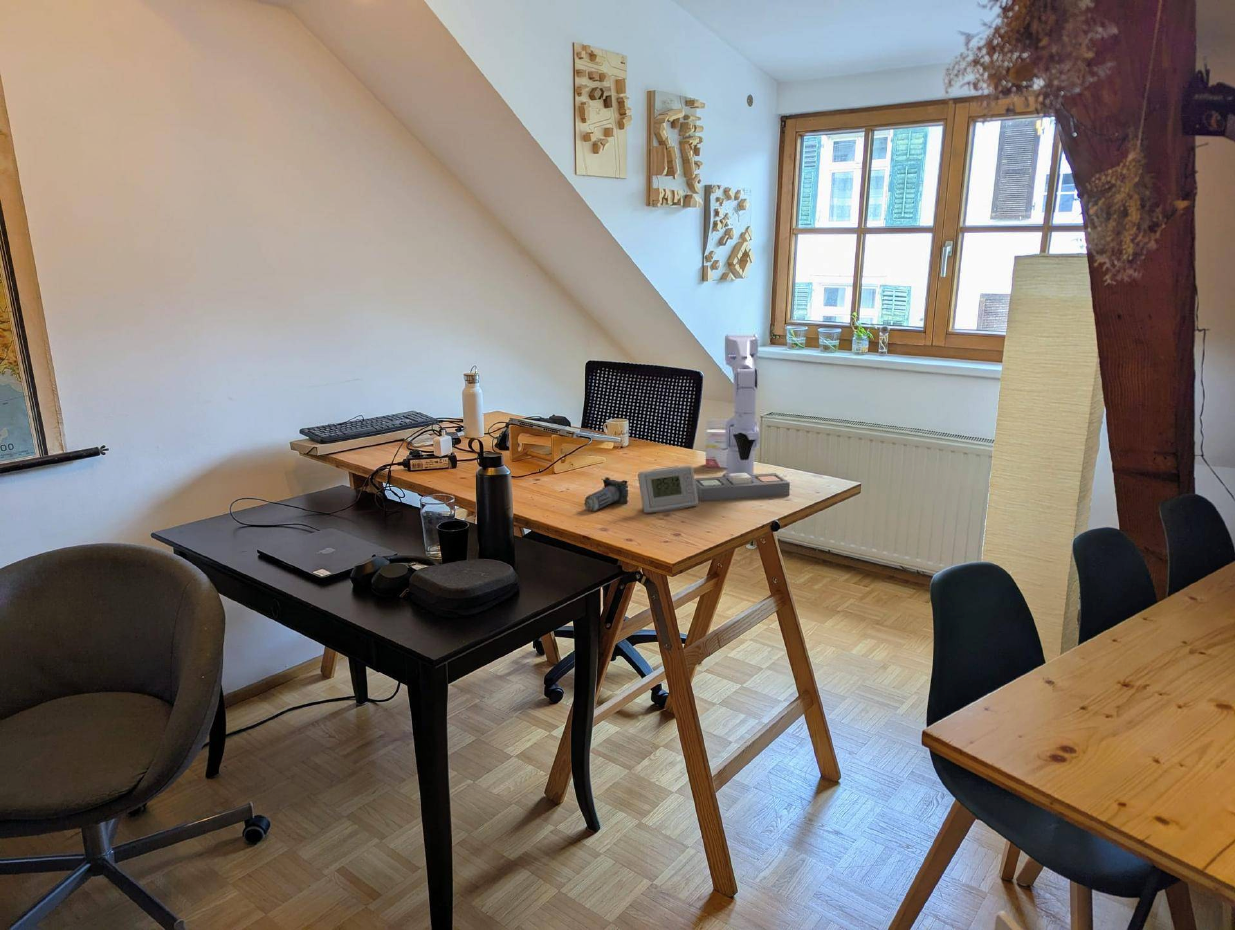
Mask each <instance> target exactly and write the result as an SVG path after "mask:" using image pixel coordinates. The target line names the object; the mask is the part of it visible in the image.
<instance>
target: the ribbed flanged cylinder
mask: <svg viewBox="0 0 1235 930" xmlns="http://www.w3.org/2000/svg"><path fill="white" fill-rule="evenodd" d="M601 481H602V482H603V487H602V489H599V490H597V491H596V492H593V493H591V494H589V495H587V496H586V497H585V499H584V503H583V504H584V507H585V508H586V509H587V510H588V511H589V512H590V511H591V512H596V511H597V510H600V509H602V508H604V507H606V506H608V505H610V504H612V503H614V502H616V503H620V502H621V503H620V504H623V505H626V504H628V502H629V500H628V498H629V489H628V488H629V485H628V484H629V482H628V480H621V481H620V480H615V479H610V477H607V476H606V477H604V478H602V479H601Z"/></svg>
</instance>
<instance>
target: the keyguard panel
mask: <svg viewBox="0 0 1235 930" xmlns="http://www.w3.org/2000/svg"><path fill="white" fill-rule="evenodd" d="M749 476H751V483H745V484H733V483H731V482H730V481H729V480H728V478H729V476H725V475H722V476H710V477H709V476H708V477H697V478H696V477H694V478H695V484H696V490H697V496H698V500H700V501H701V502H710V501H711V502H713V501H724V500H736V499H737V500H739V499H751V498H752V499H753V498H766V497H767V498H768V497H781V496H790V486H791V485H790V483H791V482H789V481H788V480H786V479H785V478H783V477H782V476H780V475H779V474H777V473H776V472H771V473H769V472H768V473H756V474H753V475H749ZM764 476H775V477H777V478H778V479H779V480H781V481H774V482H761V481H759V480H758V479H757V477H764ZM704 480H717V481H719V482H720V483H721V484H722V485H716V486H701V485H700V484H699V481H704Z"/></svg>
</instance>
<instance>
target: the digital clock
mask: <svg viewBox="0 0 1235 930" xmlns="http://www.w3.org/2000/svg"><path fill="white" fill-rule="evenodd" d="M695 478H696V477H695V472H694V468H693V466H692V465H683V466H670V467H661V468H655V469H651V470H643V471H639V472H638V474H637V479H638V485H639V492H640V497H641V505H642V509H643V512H644V513H645V514H652V513H658V514H659V513H663V512H664V513H665V512H669V511H676V510H682V509H683V510H684V509H687V508H691V507H697V506H698V505H699V498H698V496H697V490H696V484H695Z"/></svg>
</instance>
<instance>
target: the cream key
mask: <svg viewBox="0 0 1235 930" xmlns="http://www.w3.org/2000/svg"><path fill="white" fill-rule="evenodd" d="M728 480H729V481H730V482H731V483H733V484H745V483H751V476H749V475H748V474H747V473H734V474H729V478H728Z"/></svg>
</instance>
